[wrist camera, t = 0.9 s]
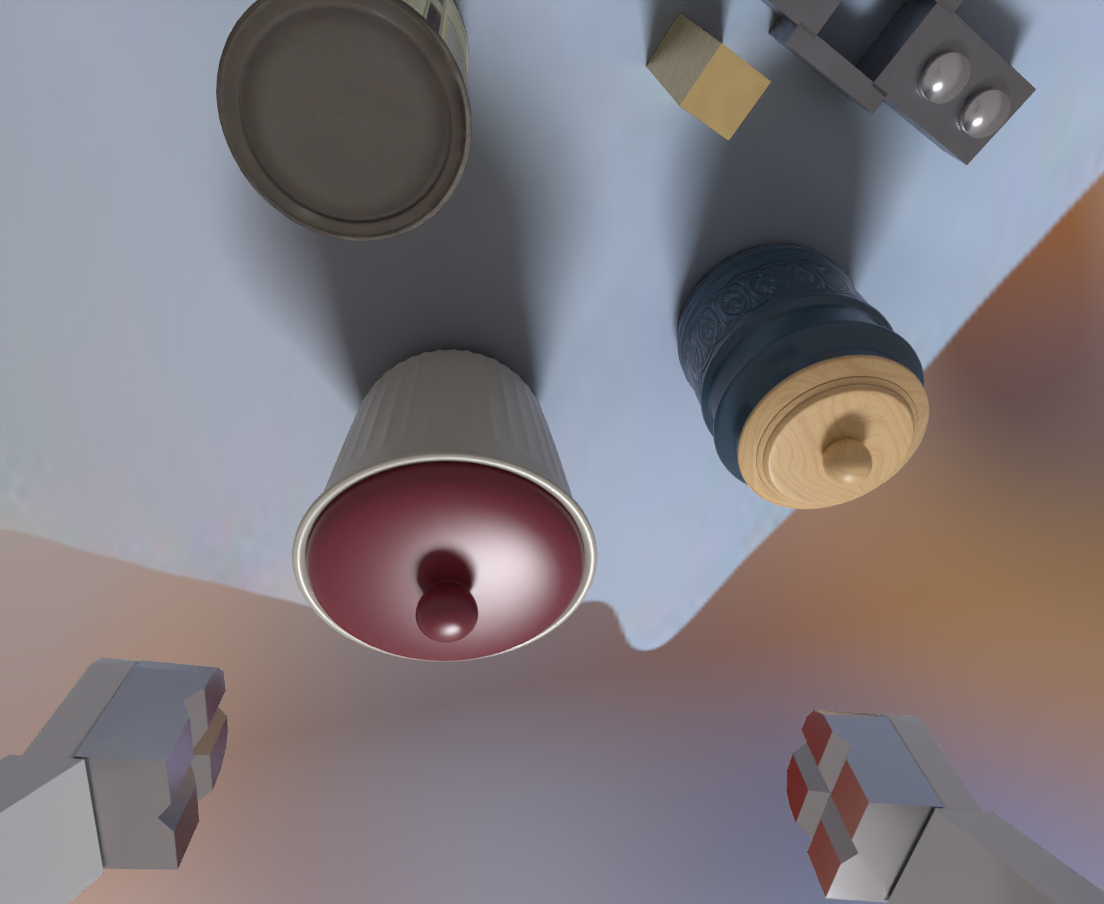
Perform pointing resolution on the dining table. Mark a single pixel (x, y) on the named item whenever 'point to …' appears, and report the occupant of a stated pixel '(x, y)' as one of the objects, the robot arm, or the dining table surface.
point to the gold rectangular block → (706, 77)
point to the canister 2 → (800, 378)
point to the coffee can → (348, 110)
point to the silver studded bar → (915, 70)
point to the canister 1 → (446, 517)
